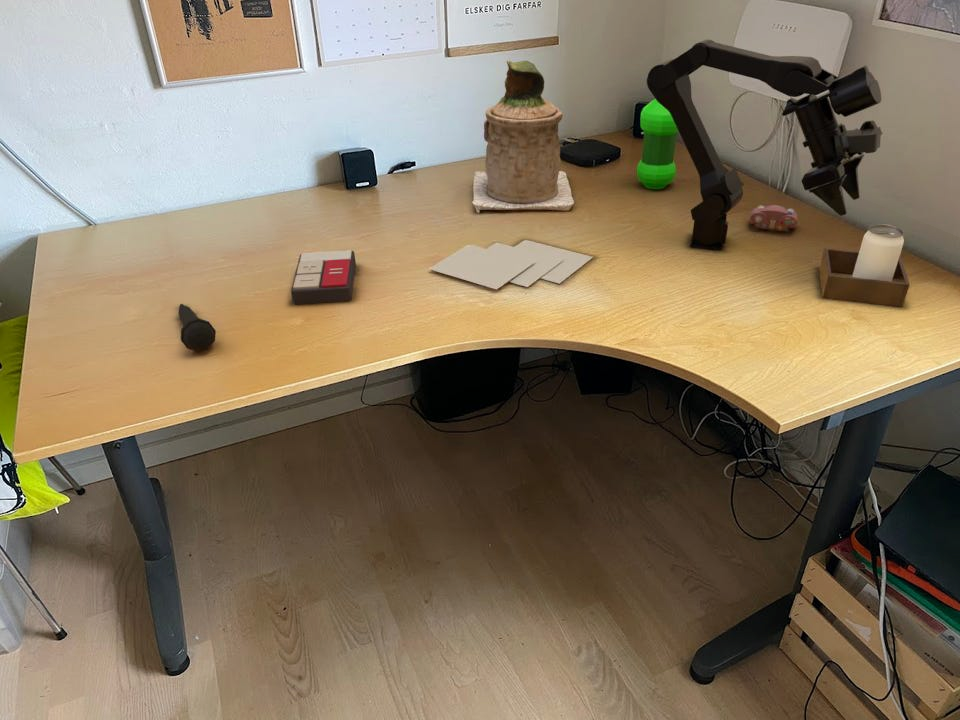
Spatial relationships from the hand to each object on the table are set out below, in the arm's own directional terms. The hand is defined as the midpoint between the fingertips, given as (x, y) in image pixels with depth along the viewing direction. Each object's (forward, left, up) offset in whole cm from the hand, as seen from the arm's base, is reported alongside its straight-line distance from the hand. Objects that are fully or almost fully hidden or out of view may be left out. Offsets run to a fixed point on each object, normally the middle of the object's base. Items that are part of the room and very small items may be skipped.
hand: (850, 206), depth 133 cm
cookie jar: (-70, +26, -14) cm, 76 cm away
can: (+6, -6, -14) cm, 16 cm away
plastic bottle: (-39, +40, -14) cm, 58 cm away
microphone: (-108, -53, -14) cm, 121 cm away
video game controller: (-11, +19, -14) cm, 26 cm away
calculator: (-94, -31, -14) cm, 100 cm away
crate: (+4, -5, -14) cm, 15 cm away
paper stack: (-61, -13, -14) cm, 64 cm away
